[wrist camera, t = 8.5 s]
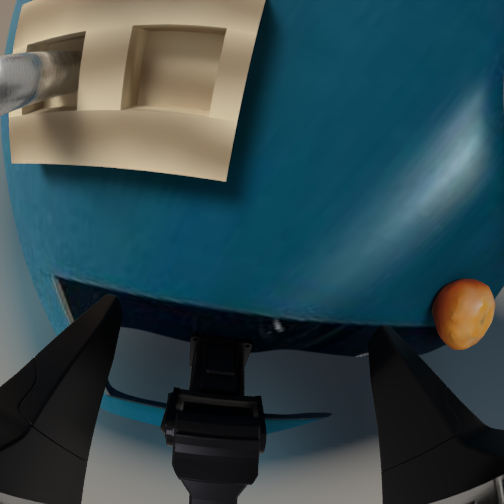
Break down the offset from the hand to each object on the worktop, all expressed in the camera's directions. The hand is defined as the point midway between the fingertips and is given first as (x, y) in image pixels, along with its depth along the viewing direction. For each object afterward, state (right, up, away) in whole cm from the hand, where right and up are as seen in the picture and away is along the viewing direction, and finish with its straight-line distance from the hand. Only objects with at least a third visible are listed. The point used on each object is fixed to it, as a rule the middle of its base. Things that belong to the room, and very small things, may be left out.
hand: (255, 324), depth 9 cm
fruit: (+23, -2, +17) cm, 29 cm away
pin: (-12, +14, +4) cm, 19 cm away
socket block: (-8, +14, +4) cm, 17 cm away
